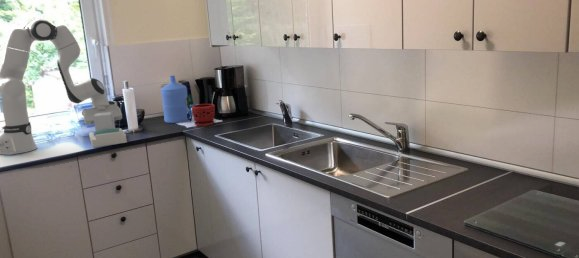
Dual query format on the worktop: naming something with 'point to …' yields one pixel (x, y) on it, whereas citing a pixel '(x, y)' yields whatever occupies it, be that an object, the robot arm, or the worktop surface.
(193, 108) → the plant pot
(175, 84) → the water jug
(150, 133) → the worktop surface
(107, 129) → the pusher
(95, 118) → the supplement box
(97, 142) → the white tray
